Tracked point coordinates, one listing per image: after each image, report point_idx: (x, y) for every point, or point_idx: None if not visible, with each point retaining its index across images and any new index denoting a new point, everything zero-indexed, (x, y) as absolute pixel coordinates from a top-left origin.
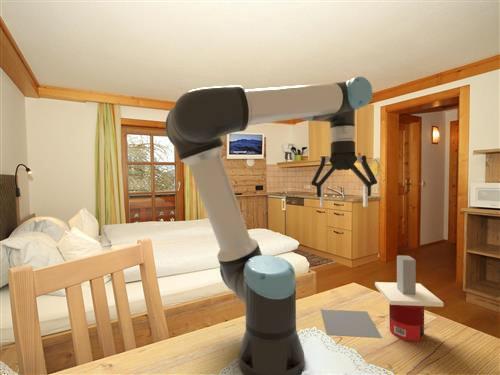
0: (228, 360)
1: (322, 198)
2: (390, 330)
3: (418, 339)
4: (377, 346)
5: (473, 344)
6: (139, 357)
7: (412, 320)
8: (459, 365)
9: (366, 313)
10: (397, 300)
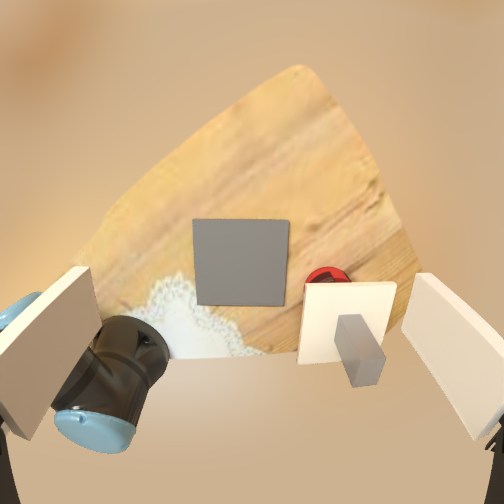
0: (89, 344)
1: (66, 366)
2: (304, 289)
3: None
4: (270, 315)
5: (400, 295)
6: None
7: None
8: None
9: (285, 229)
10: (309, 362)
